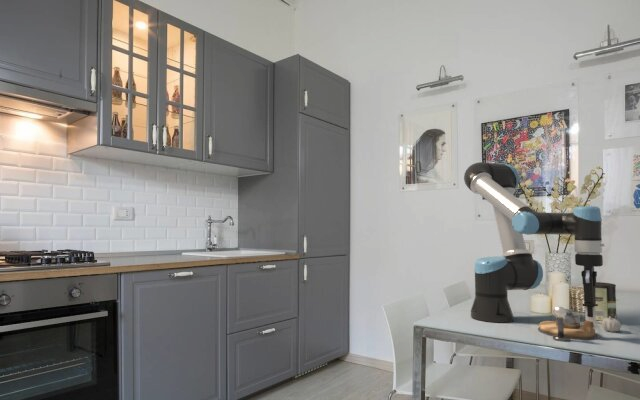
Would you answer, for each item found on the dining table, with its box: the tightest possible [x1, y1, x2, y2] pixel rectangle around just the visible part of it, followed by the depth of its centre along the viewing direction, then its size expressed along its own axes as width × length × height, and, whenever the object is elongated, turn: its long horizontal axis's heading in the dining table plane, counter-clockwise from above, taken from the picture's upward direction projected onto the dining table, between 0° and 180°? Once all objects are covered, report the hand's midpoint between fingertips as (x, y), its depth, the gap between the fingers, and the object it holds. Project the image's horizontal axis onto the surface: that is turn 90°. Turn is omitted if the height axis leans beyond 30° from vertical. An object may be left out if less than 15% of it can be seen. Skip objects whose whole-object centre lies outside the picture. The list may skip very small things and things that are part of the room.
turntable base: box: [537, 326, 598, 341], centre depth 138 cm, size 17×17×1 cm
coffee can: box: [584, 281, 618, 324], centre depth 157 cm, size 10×10×14 cm
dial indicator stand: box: [552, 306, 570, 342], centre depth 131 cm, size 4×7×10 cm, turn 141°
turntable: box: [538, 320, 596, 338], centre depth 138 cm, size 16×16×5 cm
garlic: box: [601, 316, 622, 333], centre depth 141 cm, size 6×5×5 cm
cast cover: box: [555, 308, 581, 329], centre depth 138 cm, size 7×7×6 cm
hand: (590, 326), depth 133 cm, fingers closed
